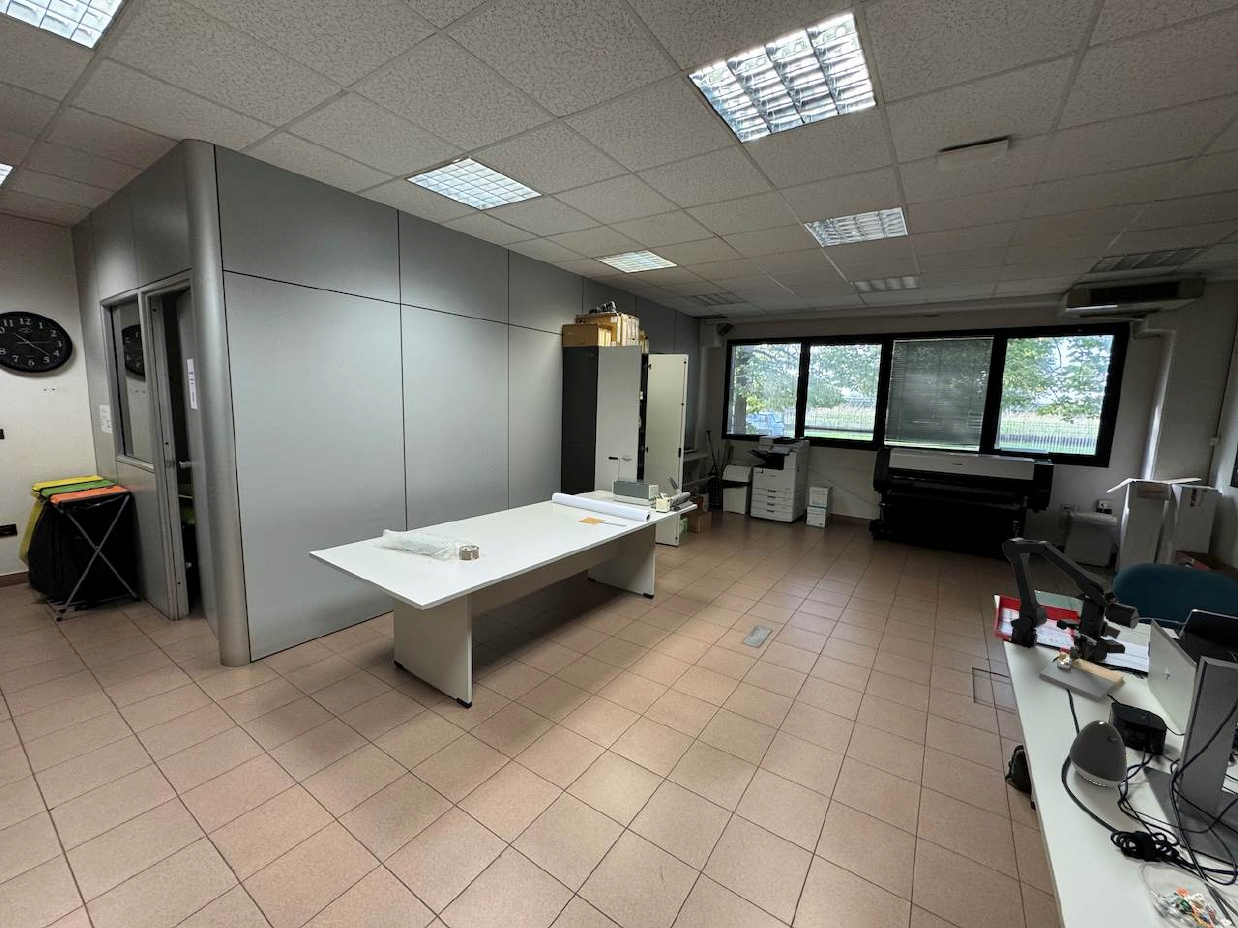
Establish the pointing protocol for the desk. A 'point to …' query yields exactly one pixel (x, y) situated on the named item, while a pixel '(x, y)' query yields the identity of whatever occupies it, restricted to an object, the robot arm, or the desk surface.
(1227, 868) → the desk surface
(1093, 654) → the end cap
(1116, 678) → the door board
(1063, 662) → the door handle
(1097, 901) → the desk surface
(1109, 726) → the egg shaped dome
